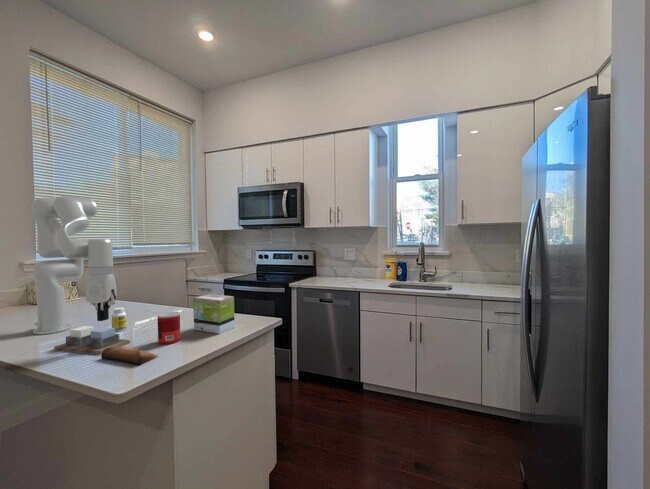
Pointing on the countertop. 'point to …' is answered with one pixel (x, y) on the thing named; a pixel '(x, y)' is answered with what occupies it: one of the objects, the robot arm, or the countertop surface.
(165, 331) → the canned food
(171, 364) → the countertop surface
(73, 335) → the white key
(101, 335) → the light blue block
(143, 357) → the sunglasses case
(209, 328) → the tea box
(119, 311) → the supplement bottle
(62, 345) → the key panel
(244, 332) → the countertop surface
